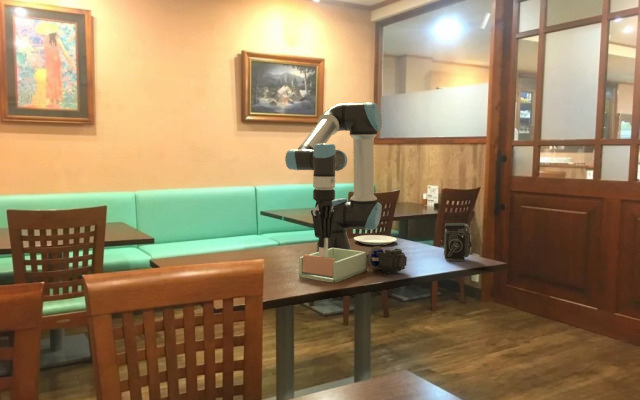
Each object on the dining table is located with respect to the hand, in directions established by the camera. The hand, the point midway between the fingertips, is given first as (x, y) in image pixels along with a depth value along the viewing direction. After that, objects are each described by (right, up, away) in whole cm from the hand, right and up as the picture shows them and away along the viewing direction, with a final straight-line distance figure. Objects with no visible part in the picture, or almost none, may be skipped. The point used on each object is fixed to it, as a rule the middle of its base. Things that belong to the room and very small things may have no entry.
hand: (323, 256), depth 177 cm
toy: (+23, -7, +11) cm, 27 cm away
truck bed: (+4, -7, +7) cm, 10 cm away
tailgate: (-2, -6, -2) cm, 7 cm away
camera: (+55, -5, +33) cm, 65 cm away
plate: (+26, -2, +71) cm, 76 cm away
